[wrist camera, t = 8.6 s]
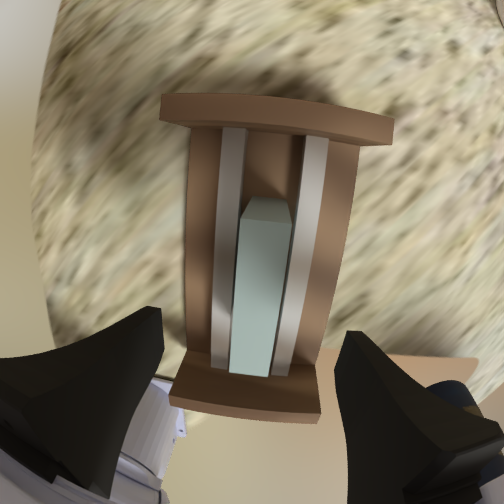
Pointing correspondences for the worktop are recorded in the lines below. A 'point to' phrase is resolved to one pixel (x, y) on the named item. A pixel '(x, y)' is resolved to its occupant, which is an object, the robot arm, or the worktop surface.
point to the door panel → (259, 283)
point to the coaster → (500, 10)
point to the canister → (463, 399)
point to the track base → (300, 246)
